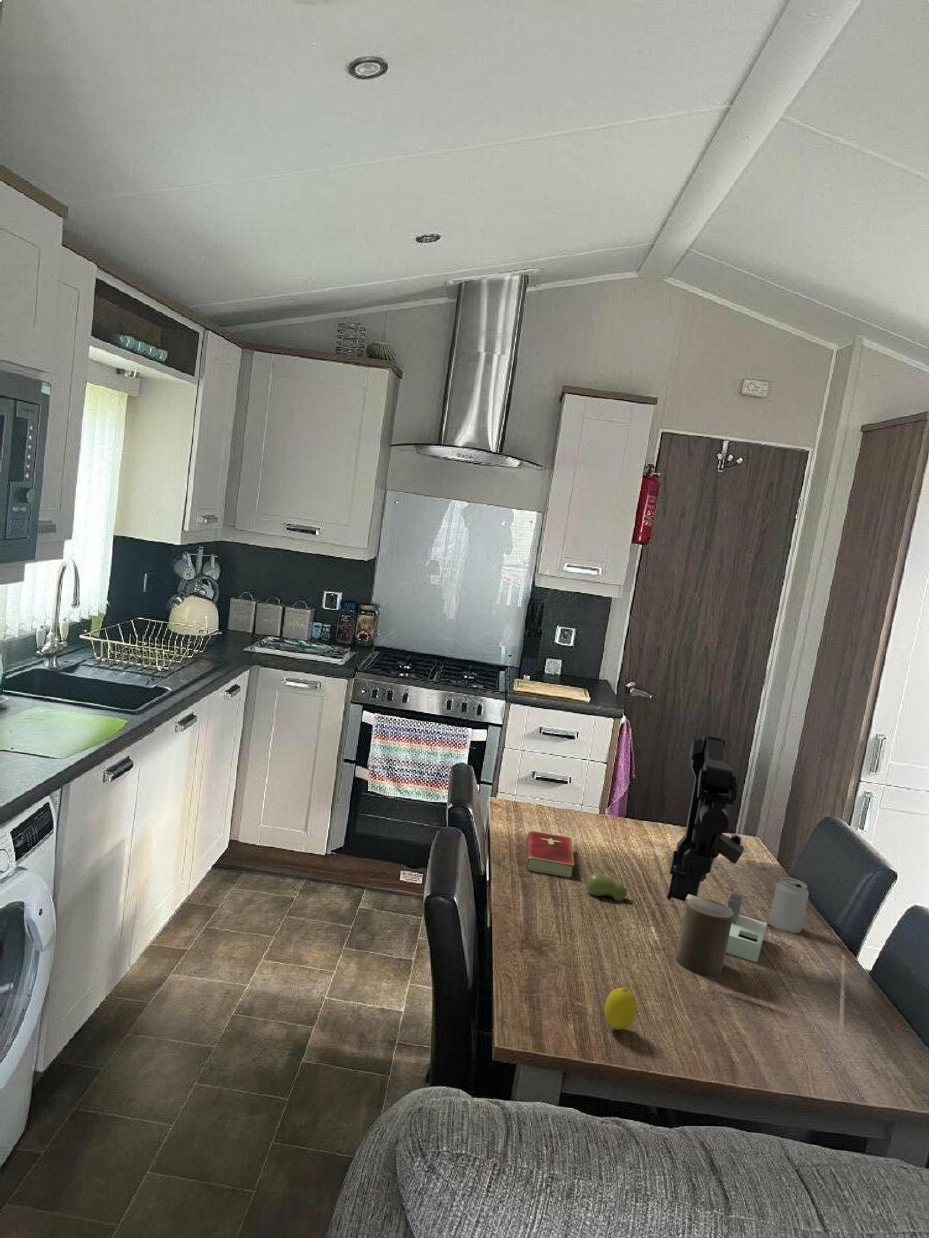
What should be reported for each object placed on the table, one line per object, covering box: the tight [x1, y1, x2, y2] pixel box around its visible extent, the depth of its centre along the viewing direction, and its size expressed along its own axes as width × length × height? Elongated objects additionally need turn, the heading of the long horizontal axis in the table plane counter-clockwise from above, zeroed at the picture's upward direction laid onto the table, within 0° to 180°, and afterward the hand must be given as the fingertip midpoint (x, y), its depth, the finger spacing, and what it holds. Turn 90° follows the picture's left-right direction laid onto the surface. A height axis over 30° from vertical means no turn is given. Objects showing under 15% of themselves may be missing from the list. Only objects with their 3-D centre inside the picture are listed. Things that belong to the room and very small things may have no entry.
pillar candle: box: [674, 896, 733, 977], centre depth 196 cm, size 10×10×15 cm
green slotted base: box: [727, 891, 768, 950], centre depth 210 cm, size 10×14×6 cm
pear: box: [586, 872, 628, 903], centre depth 228 cm, size 6×5×10 cm
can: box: [768, 877, 810, 935], centre depth 225 cm, size 8×8×12 cm
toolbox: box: [725, 934, 764, 963], centre depth 210 cm, size 10×14×4 cm
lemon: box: [604, 987, 637, 1031], centre depth 167 cm, size 6×6×8 cm
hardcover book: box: [525, 830, 576, 879], centre depth 247 cm, size 12×21×4 cm, turn 176°
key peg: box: [679, 894, 701, 933], centre depth 212 cm, size 3×3×9 cm
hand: (695, 887), depth 211 cm, fingers open, 9 cm apart
